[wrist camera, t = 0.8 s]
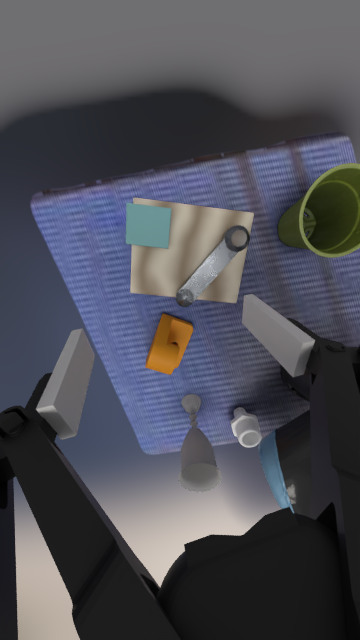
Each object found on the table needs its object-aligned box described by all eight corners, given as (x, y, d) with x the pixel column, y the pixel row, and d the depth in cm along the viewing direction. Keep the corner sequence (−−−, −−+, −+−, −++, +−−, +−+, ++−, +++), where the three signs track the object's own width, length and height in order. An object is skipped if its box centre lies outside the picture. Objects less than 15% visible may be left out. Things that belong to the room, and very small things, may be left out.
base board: (251, 214, 37) (263, 207, 32) (234, 301, 42) (242, 307, 37) (135, 200, 36) (128, 190, 31) (132, 291, 41) (125, 295, 36)
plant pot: (333, 195, 36) (399, 167, 26) (314, 260, 40) (366, 261, 29) (272, 187, 36) (314, 157, 25) (258, 255, 39) (290, 253, 29)
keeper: (171, 215, 35) (171, 208, 31) (168, 249, 37) (167, 248, 33) (133, 210, 35) (126, 202, 30) (131, 245, 37) (125, 243, 32)
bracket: (177, 363, 46) (177, 397, 35) (148, 353, 45) (138, 385, 34) (193, 322, 43) (200, 345, 32) (162, 312, 42) (158, 331, 31)
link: (233, 222, 36) (237, 219, 33) (249, 239, 37) (254, 237, 34) (170, 295, 40) (170, 297, 37) (186, 308, 40) (187, 311, 38)
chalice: (207, 392, 49) (225, 465, 32) (202, 414, 51) (217, 493, 34) (179, 389, 48) (181, 461, 31) (175, 411, 50) (175, 490, 33)
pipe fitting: (221, 413, 51) (229, 441, 43) (241, 396, 50) (253, 421, 42) (237, 426, 52) (247, 454, 45) (257, 410, 51) (272, 437, 43)
